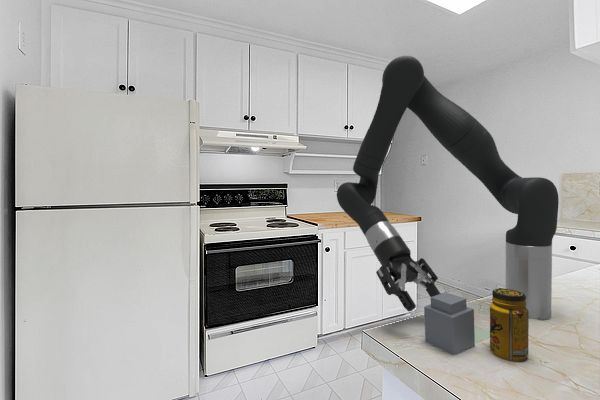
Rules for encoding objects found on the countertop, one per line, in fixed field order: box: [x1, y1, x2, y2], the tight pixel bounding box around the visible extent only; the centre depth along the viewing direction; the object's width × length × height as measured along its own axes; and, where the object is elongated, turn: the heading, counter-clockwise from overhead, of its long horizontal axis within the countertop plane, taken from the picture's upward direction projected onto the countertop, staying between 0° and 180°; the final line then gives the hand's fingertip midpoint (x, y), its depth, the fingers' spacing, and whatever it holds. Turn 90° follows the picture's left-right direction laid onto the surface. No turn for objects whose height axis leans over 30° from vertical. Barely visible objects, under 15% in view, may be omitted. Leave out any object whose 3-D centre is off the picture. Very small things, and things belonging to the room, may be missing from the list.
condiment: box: [489, 287, 552, 364], centre depth 59 cm, size 7×8×12 cm
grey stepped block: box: [423, 291, 476, 356], centre depth 63 cm, size 6×6×10 cm
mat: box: [474, 324, 490, 344], centre depth 69 cm, size 10×10×1 cm
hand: (426, 305), depth 68 cm, fingers open, 8 cm apart
